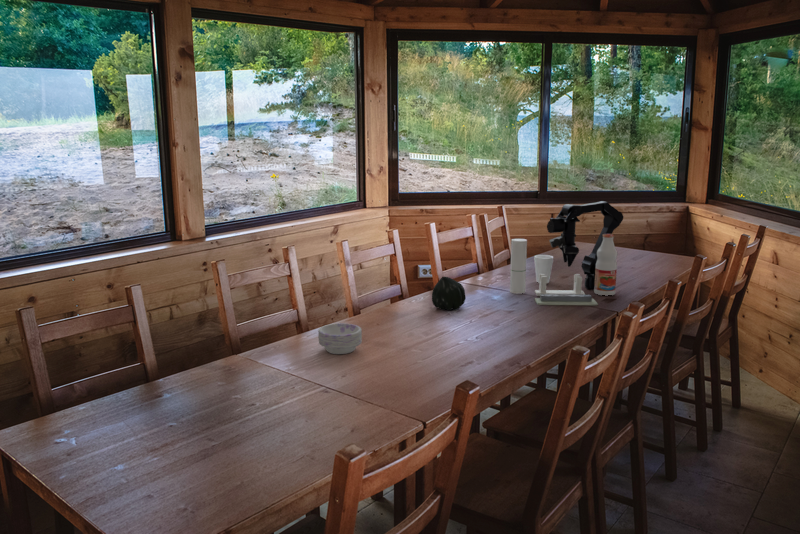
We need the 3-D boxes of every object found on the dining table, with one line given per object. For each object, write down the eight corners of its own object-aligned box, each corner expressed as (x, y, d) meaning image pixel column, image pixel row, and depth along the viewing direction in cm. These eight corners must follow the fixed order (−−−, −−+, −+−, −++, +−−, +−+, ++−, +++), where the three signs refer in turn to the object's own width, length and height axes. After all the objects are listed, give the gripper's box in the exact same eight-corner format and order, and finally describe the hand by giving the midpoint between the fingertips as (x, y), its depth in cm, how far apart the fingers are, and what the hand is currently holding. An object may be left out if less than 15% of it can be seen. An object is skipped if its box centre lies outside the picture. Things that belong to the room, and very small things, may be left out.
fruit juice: (607, 290, 300) (610, 232, 293) (619, 295, 291) (623, 235, 285) (589, 292, 297) (593, 233, 291) (601, 297, 288) (605, 236, 282)
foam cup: (547, 285, 310) (548, 259, 307) (530, 282, 316) (531, 257, 313) (555, 281, 318) (556, 256, 315) (538, 278, 323) (539, 254, 320)
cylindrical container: (524, 290, 301) (526, 238, 296) (525, 293, 294) (527, 241, 289) (509, 289, 302) (510, 238, 297) (510, 293, 295) (512, 241, 290)
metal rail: (589, 300, 280) (590, 294, 280) (591, 301, 277) (591, 296, 277) (540, 299, 282) (540, 294, 281) (541, 301, 279) (541, 296, 278)
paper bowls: (362, 342, 230) (362, 321, 229) (361, 357, 215) (361, 335, 214) (320, 343, 230) (320, 322, 228) (316, 358, 215) (316, 336, 213)
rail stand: (582, 292, 295) (583, 274, 293) (585, 296, 290) (586, 277, 288) (534, 292, 297) (535, 273, 295) (536, 295, 291) (537, 276, 289)
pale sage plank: (593, 300, 283) (593, 298, 282) (597, 305, 275) (597, 303, 275) (534, 299, 284) (534, 298, 284) (537, 304, 276) (537, 303, 276)
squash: (474, 292, 276) (451, 267, 276) (468, 303, 262) (444, 276, 262) (450, 311, 281) (428, 286, 281) (443, 322, 267) (420, 296, 267)
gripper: (547, 228, 302) (546, 260, 305) (554, 234, 284) (553, 268, 287) (571, 228, 301) (569, 260, 305) (580, 235, 283) (578, 268, 287)
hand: (567, 264), depth 296 cm, fingers open, 9 cm apart
